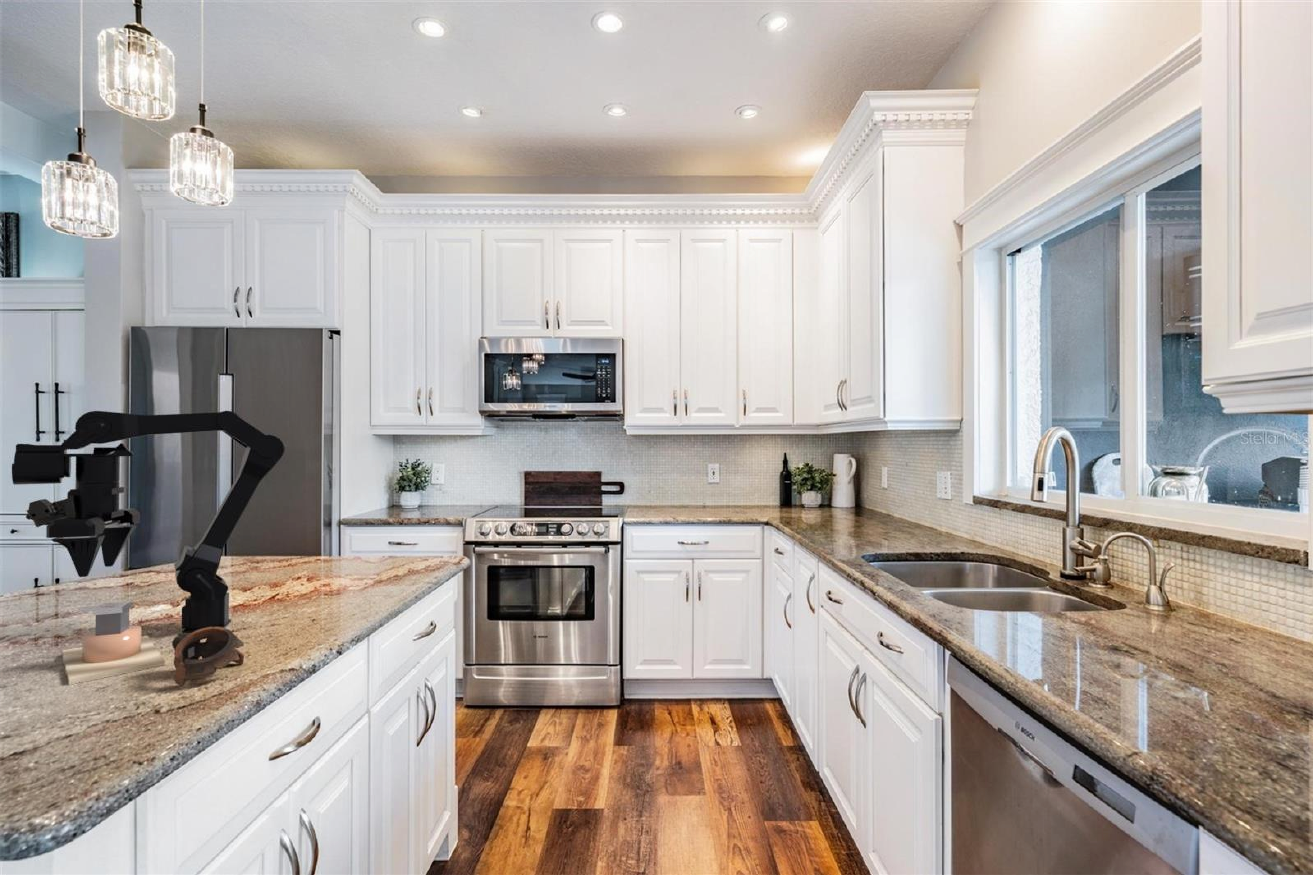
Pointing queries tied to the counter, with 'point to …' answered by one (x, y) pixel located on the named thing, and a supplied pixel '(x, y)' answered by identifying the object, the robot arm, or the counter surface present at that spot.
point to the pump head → (108, 608)
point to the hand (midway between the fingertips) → (96, 571)
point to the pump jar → (111, 639)
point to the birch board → (110, 663)
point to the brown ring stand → (204, 652)
